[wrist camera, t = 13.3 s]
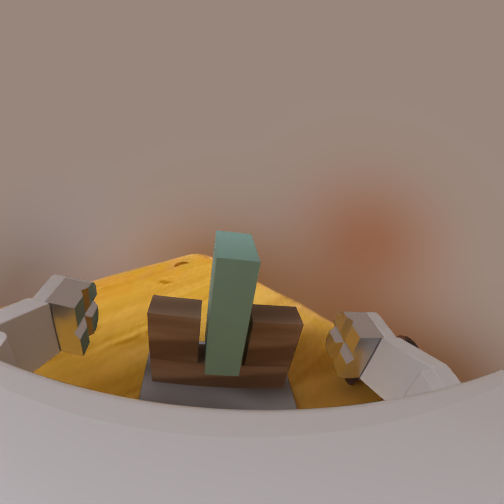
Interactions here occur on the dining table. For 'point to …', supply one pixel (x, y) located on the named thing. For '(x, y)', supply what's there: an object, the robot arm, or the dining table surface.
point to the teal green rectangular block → (230, 302)
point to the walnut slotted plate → (193, 359)
